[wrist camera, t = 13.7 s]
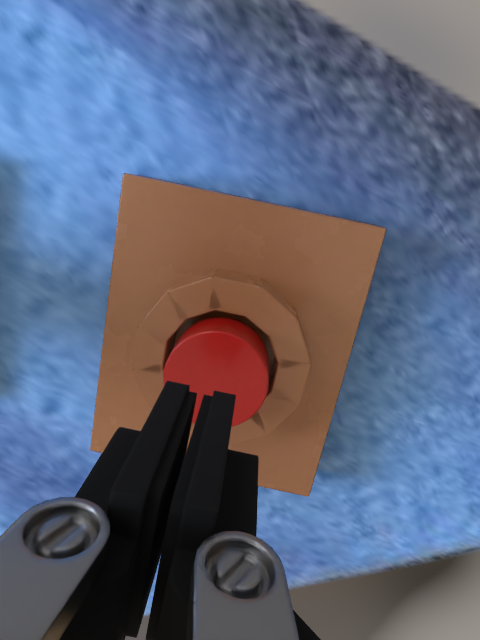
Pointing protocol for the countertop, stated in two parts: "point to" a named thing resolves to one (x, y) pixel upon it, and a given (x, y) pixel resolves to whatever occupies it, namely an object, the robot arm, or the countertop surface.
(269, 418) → the control block
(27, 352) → the countertop surface
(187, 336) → the red button
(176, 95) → the countertop surface
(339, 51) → the countertop surface
